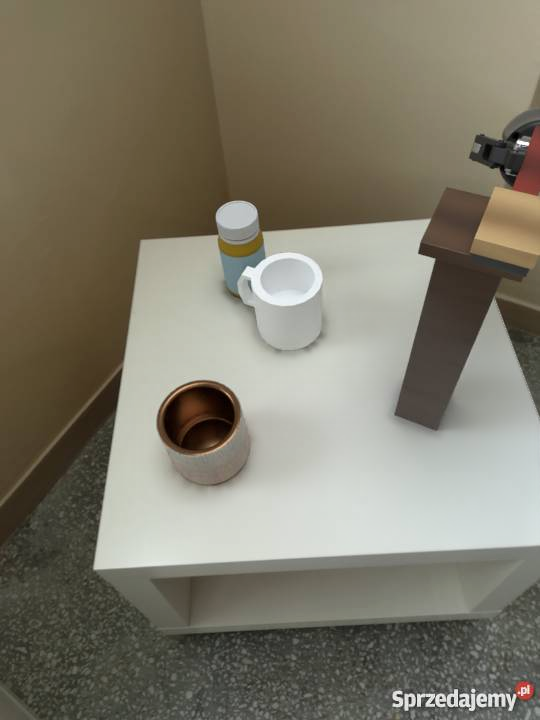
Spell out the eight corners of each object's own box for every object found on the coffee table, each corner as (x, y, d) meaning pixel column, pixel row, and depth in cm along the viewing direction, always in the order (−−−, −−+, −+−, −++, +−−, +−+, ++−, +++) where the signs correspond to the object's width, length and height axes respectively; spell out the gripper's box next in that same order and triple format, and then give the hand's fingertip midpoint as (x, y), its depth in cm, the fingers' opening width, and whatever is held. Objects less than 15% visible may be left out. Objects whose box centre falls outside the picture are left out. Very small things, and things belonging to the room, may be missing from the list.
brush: (515, 138, 54) (524, 112, 51) (567, 149, 52) (579, 122, 50) (465, 263, 45) (474, 237, 42) (527, 280, 43) (539, 255, 41)
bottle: (230, 267, 92) (217, 197, 79) (270, 269, 91) (263, 199, 78) (223, 298, 88) (208, 230, 75) (264, 301, 87) (256, 232, 75)
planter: (242, 406, 76) (234, 370, 68) (257, 476, 70) (250, 445, 62) (168, 423, 76) (151, 388, 68) (177, 495, 70) (159, 466, 62)
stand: (400, 372, 78) (446, 186, 50) (461, 394, 75) (545, 210, 48) (381, 416, 74) (420, 241, 46) (445, 441, 71) (526, 270, 44)
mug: (227, 330, 84) (217, 285, 75) (257, 286, 89) (250, 238, 80) (305, 359, 80) (304, 315, 71) (332, 310, 85) (334, 264, 76)
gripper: (486, 108, 62) (470, 106, 48) (615, 132, 58) (641, 138, 43) (464, 174, 65) (444, 191, 51) (585, 201, 61) (599, 227, 47)
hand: (534, 166), depth 47 cm, fingers closed on brush, 2 cm apart
